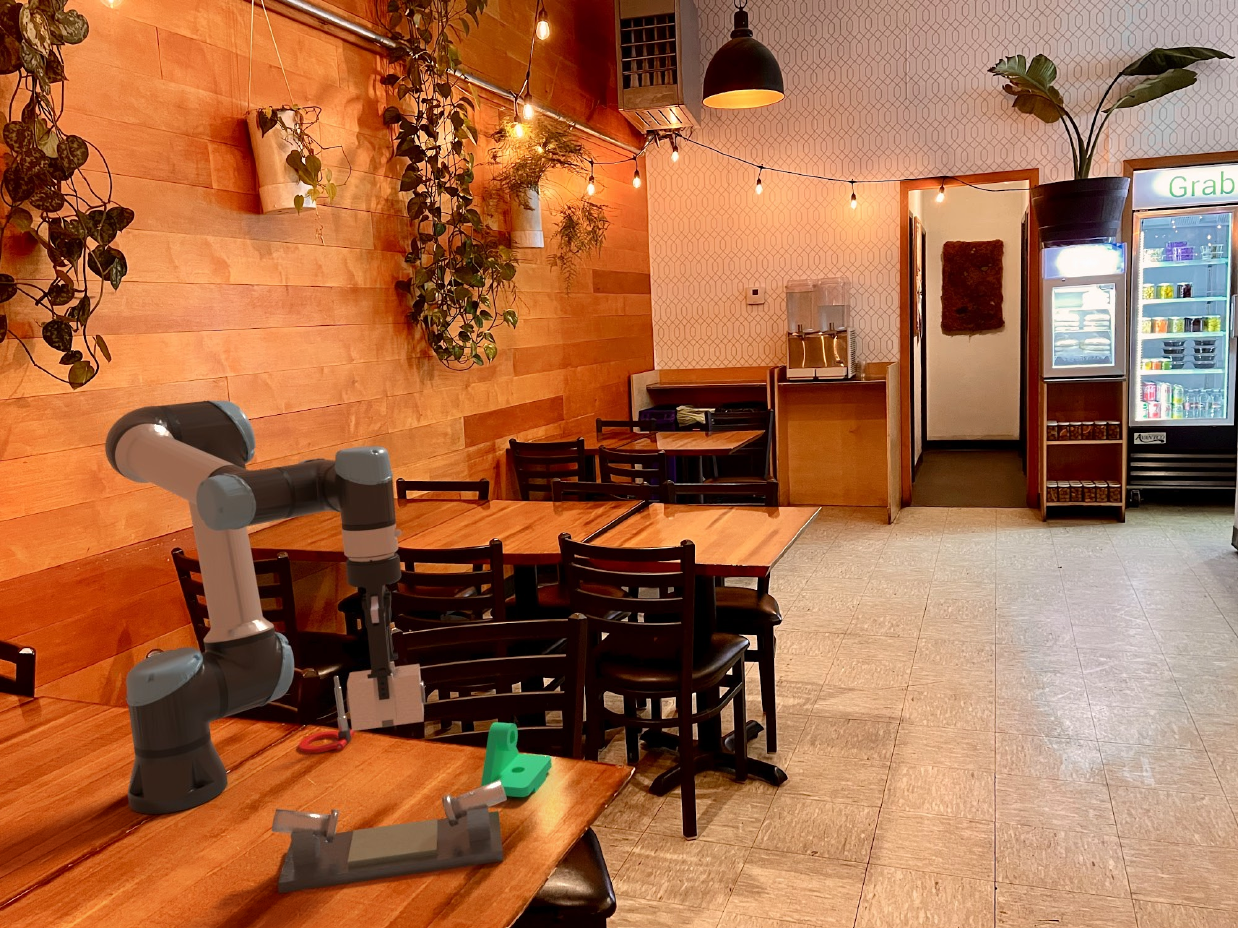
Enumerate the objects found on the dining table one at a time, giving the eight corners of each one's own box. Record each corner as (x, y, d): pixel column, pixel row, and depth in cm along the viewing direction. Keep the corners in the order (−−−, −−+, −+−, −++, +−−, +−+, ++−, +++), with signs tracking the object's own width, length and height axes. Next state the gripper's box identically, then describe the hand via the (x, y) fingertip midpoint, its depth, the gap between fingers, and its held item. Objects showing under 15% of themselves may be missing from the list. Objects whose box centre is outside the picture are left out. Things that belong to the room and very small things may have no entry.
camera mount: (527, 803, 154) (522, 741, 153) (482, 800, 156) (477, 738, 155) (554, 770, 166) (549, 711, 164) (511, 767, 168) (507, 709, 167)
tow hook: (292, 756, 178) (342, 752, 178) (282, 688, 177) (332, 684, 176) (309, 738, 187) (357, 734, 186) (299, 672, 185) (347, 668, 185)
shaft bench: (269, 894, 132) (262, 831, 131) (283, 849, 144) (277, 791, 143) (512, 859, 137) (507, 798, 136) (507, 819, 149) (502, 762, 148)
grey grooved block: (349, 731, 140) (344, 683, 140) (352, 718, 145) (347, 672, 145) (426, 721, 142) (421, 673, 142) (426, 708, 147) (421, 662, 147)
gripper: (397, 565, 133) (412, 731, 136) (401, 541, 150) (414, 688, 153) (339, 571, 131) (356, 739, 134) (350, 546, 149) (365, 694, 152)
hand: (387, 711), depth 144 cm, fingers closed on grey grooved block, 5 cm apart
